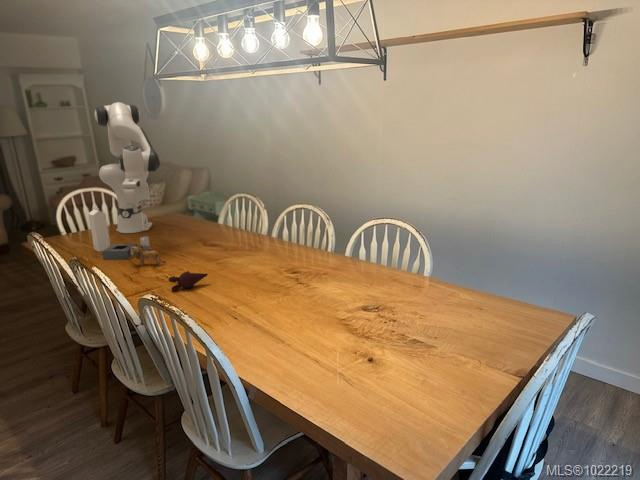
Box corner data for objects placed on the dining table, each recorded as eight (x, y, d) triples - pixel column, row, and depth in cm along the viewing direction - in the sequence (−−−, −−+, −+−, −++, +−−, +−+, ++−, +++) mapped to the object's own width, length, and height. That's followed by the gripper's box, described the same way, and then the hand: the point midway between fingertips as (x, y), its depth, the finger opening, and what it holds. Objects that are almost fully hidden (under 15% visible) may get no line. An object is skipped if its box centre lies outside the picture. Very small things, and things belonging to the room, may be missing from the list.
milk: (99, 252, 227) (91, 209, 221) (94, 249, 231) (86, 207, 225) (111, 249, 232) (104, 206, 225) (106, 246, 236) (99, 205, 229)
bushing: (143, 251, 226) (141, 236, 224) (151, 251, 226) (149, 236, 224) (140, 254, 222) (138, 238, 220) (148, 254, 222) (146, 238, 220)
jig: (114, 251, 227) (113, 244, 226) (140, 251, 227) (139, 243, 226) (103, 259, 216) (102, 251, 215) (130, 259, 216) (128, 250, 215)
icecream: (203, 265, 185) (165, 275, 179) (207, 266, 179) (169, 276, 172) (207, 281, 186) (170, 292, 179) (212, 283, 180) (174, 294, 173)
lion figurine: (130, 267, 204) (127, 248, 201) (134, 263, 209) (131, 244, 207) (164, 266, 205) (161, 247, 202) (167, 262, 210) (164, 243, 208)
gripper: (138, 178, 224) (142, 205, 228) (120, 184, 205) (124, 214, 209) (151, 177, 224) (154, 205, 228) (134, 184, 205) (138, 214, 208)
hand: (140, 210), depth 218 cm, fingers open, 8 cm apart
